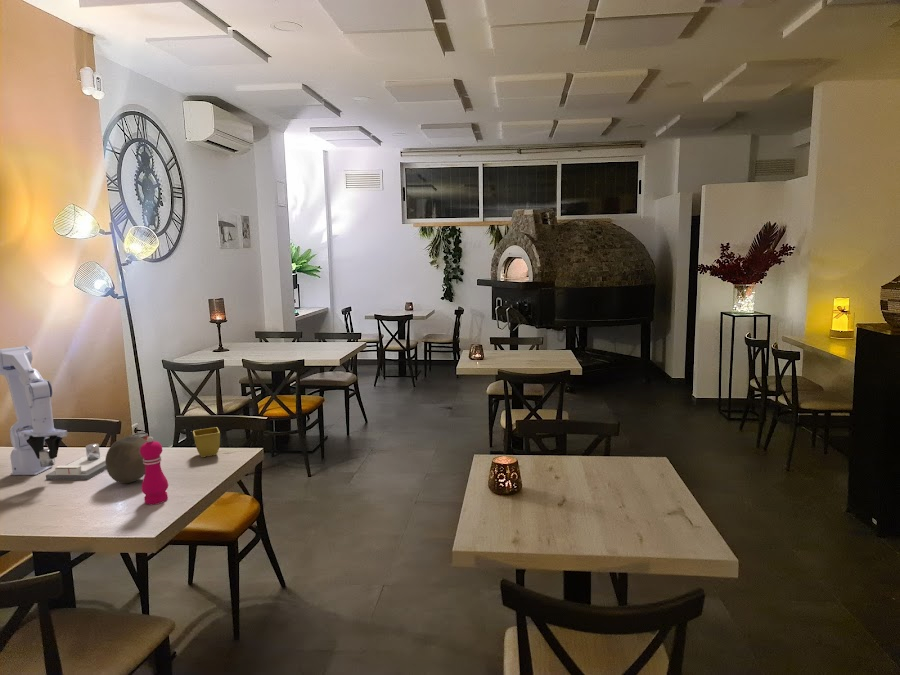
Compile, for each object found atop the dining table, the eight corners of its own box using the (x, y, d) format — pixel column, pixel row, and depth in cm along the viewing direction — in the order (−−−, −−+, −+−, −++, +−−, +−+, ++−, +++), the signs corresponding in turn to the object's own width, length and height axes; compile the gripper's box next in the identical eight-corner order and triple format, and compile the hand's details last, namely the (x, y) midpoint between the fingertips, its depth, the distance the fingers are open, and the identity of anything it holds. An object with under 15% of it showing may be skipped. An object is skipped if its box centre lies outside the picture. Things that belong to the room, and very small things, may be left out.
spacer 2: (84, 460, 211) (83, 447, 210) (92, 456, 215) (90, 443, 214) (95, 460, 211) (93, 447, 210) (102, 456, 214) (101, 443, 214)
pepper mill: (158, 506, 176) (152, 441, 173) (137, 504, 177) (130, 440, 174) (174, 496, 183) (168, 433, 180) (154, 495, 184) (147, 432, 181)
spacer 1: (37, 467, 195) (35, 452, 194) (46, 462, 198) (44, 448, 198) (49, 467, 194) (47, 452, 194) (58, 462, 198) (56, 448, 198)
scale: (46, 479, 200) (44, 467, 199) (81, 461, 217) (79, 450, 216) (88, 479, 199) (87, 467, 198) (120, 461, 216) (118, 450, 215)
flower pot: (194, 453, 223) (192, 430, 221) (219, 449, 227) (217, 426, 225) (196, 460, 215) (194, 436, 214) (222, 456, 219) (220, 432, 218)
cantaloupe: (112, 493, 186) (107, 447, 184) (104, 481, 197) (99, 437, 195) (161, 481, 195) (156, 437, 193) (150, 470, 206) (146, 428, 204)
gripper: (11, 421, 191) (17, 462, 193) (54, 421, 190) (59, 462, 192) (28, 415, 198) (33, 454, 200) (69, 415, 197) (74, 454, 199)
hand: (47, 457), depth 196 cm, fingers closed on spacer 1, 4 cm apart
